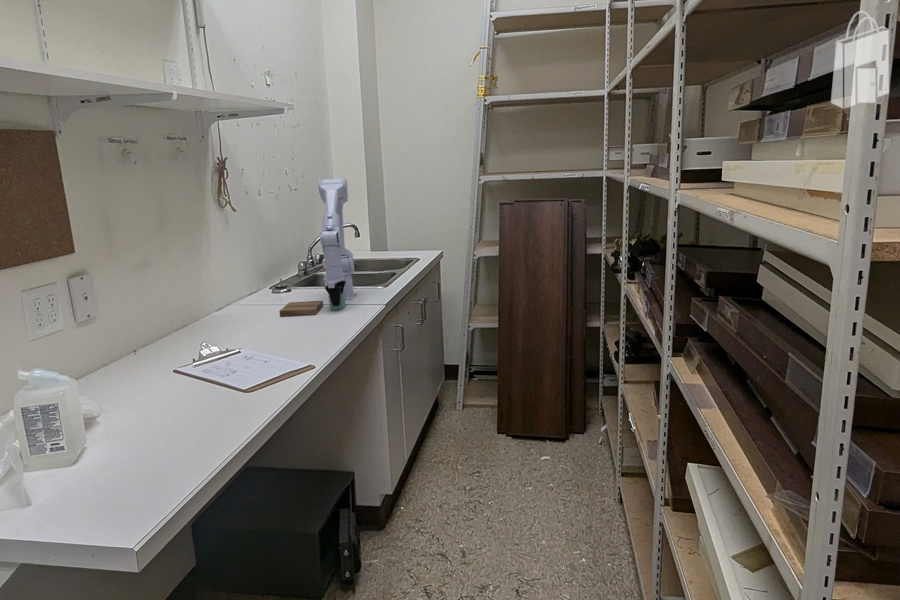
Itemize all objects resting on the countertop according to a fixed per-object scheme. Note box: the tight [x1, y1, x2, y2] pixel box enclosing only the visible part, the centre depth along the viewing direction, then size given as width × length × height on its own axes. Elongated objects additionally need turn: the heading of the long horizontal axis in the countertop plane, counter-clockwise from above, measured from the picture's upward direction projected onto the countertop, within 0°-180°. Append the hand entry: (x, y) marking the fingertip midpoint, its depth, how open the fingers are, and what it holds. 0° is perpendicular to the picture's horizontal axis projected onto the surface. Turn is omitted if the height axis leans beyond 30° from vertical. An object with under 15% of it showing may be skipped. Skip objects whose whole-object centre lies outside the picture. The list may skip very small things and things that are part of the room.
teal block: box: [328, 292, 346, 311], centre depth 199 cm, size 4×4×5 cm
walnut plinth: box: [278, 300, 324, 318], centre depth 198 cm, size 12×12×2 cm
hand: (337, 303), depth 200 cm, fingers closed on teal block, 4 cm apart
